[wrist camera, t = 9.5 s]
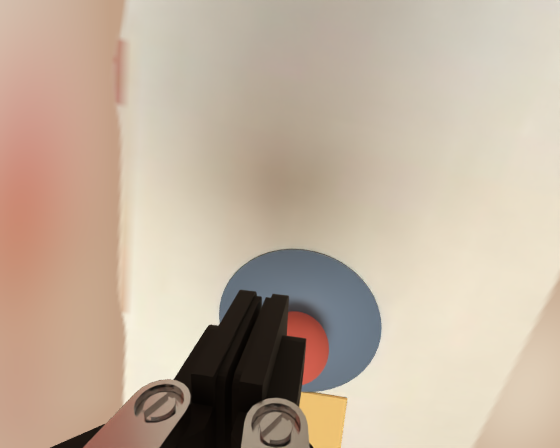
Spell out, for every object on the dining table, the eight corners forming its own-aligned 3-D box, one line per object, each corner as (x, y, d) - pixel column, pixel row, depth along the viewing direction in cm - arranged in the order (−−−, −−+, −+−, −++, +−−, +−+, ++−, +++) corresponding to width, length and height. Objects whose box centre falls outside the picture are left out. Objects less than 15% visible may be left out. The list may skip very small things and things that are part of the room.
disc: (219, 241, 27) (218, 241, 27) (392, 259, 25) (393, 260, 25) (220, 376, 31) (220, 378, 31) (369, 401, 29) (369, 403, 29)
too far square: (240, 380, 31) (240, 381, 31) (346, 398, 30) (347, 399, 29) (239, 457, 34) (239, 459, 34) (336, 476, 33) (336, 478, 32)
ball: (257, 393, 26) (268, 331, 30) (327, 401, 25) (328, 336, 29) (248, 361, 22) (262, 295, 26) (329, 369, 22) (330, 299, 26)
